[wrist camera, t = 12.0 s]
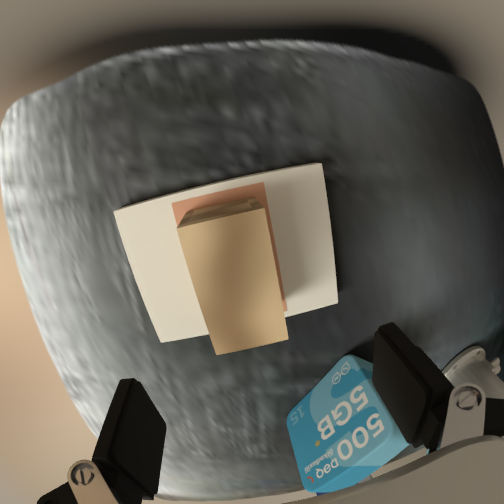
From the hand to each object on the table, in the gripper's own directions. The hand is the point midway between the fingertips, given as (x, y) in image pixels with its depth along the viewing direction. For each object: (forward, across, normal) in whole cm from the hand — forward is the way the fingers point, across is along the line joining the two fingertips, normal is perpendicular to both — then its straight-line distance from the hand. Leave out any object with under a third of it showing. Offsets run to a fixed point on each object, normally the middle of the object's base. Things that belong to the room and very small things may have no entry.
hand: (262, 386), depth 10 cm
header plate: (+14, +1, -1) cm, 14 cm away
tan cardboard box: (+13, +1, -1) cm, 13 cm away
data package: (+15, -6, +18) cm, 25 cm away
